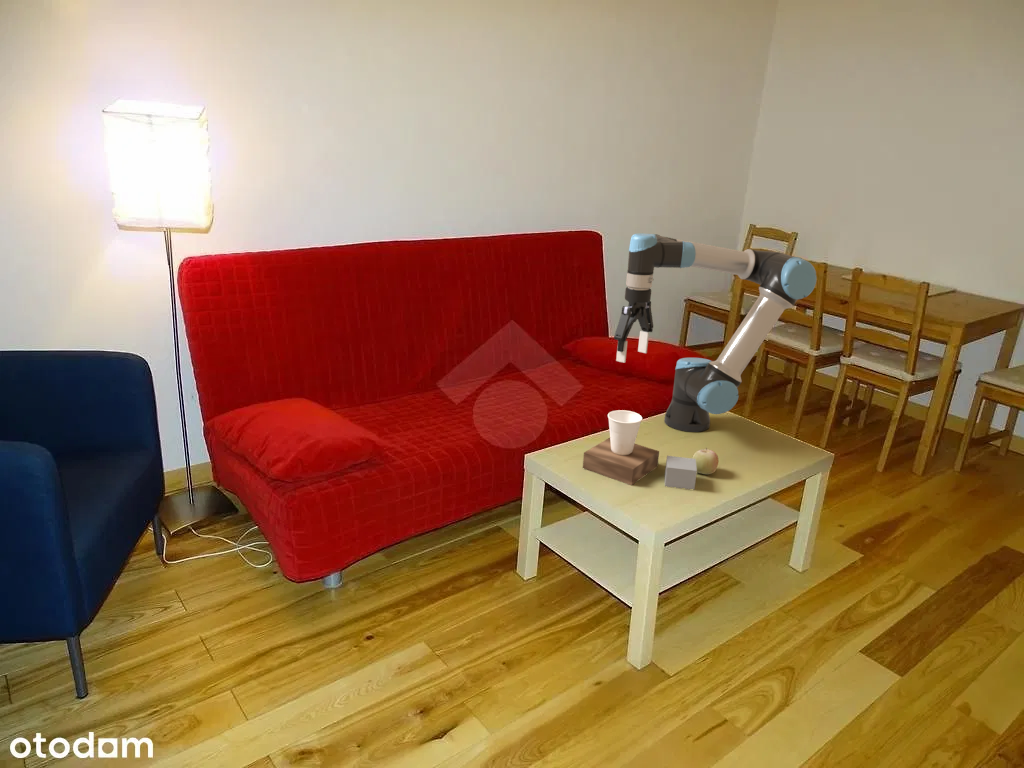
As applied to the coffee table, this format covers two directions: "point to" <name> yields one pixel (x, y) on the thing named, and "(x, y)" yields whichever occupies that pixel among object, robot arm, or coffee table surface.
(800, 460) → the coffee table surface
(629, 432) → the cup
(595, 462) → the walnut block
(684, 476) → the grey block
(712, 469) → the fruit
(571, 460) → the coffee table surface
